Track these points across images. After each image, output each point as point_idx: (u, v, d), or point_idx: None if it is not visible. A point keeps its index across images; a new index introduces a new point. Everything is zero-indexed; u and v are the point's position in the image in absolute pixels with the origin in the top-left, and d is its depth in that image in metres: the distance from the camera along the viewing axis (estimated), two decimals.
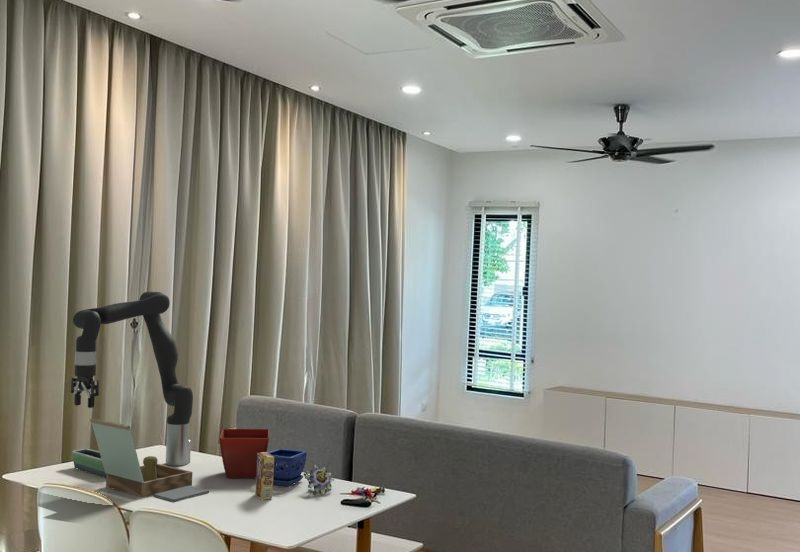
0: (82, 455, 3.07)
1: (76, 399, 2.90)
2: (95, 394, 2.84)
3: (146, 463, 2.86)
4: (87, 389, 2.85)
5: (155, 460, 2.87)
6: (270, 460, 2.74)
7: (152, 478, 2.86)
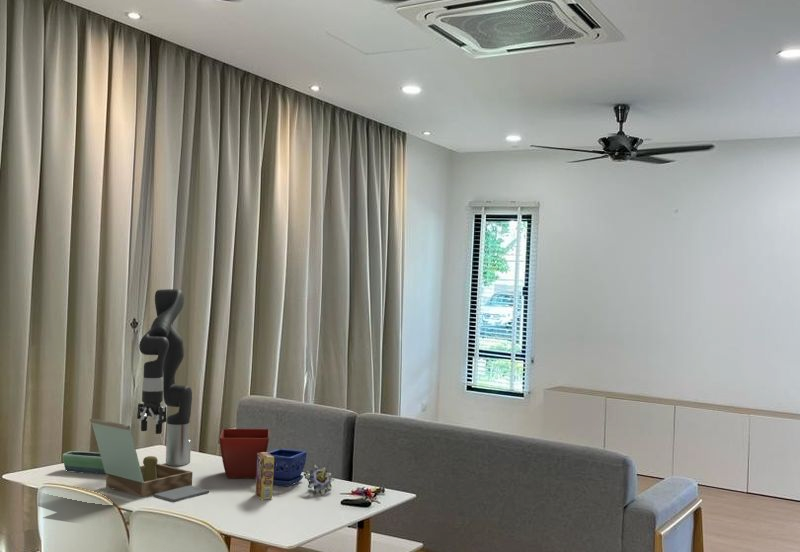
0: (81, 457, 3.04)
1: (143, 425, 2.90)
2: (163, 420, 2.84)
3: (146, 463, 2.86)
4: (155, 415, 2.86)
5: (155, 460, 2.87)
6: (270, 460, 2.74)
7: (152, 478, 2.86)
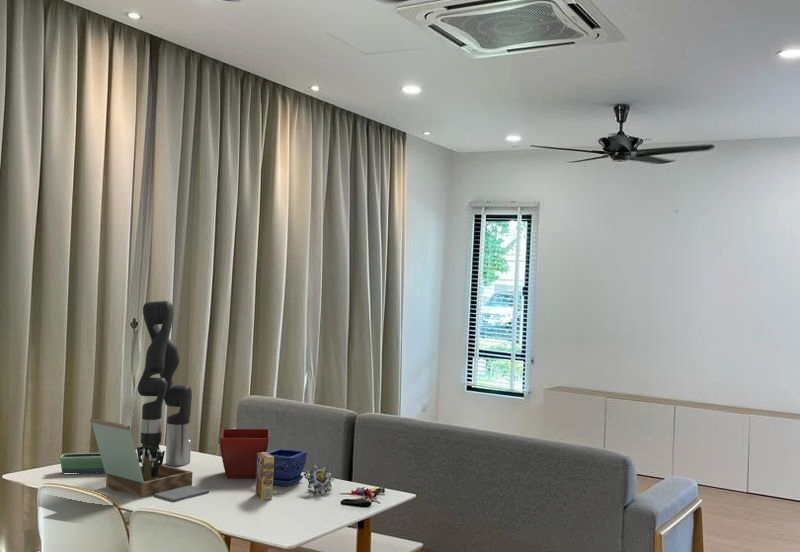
0: (82, 458, 3.02)
1: None
2: (159, 464, 2.85)
3: (146, 463, 2.86)
4: (152, 458, 2.86)
5: (155, 460, 2.87)
6: (270, 460, 2.74)
7: (152, 478, 2.86)
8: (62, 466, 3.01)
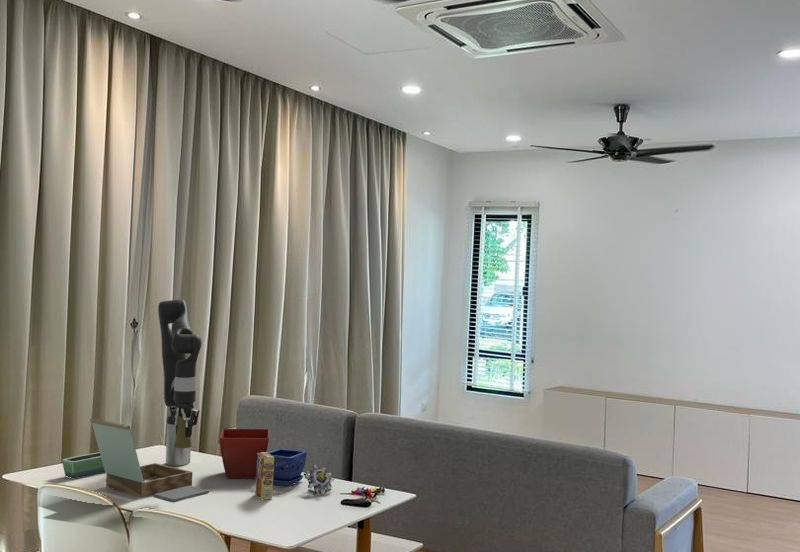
0: (92, 459, 3.01)
1: None
2: (193, 423, 2.75)
3: (180, 422, 2.76)
4: (186, 418, 2.76)
5: (189, 420, 2.77)
6: (270, 460, 2.74)
7: (186, 438, 2.76)
8: (74, 470, 2.95)
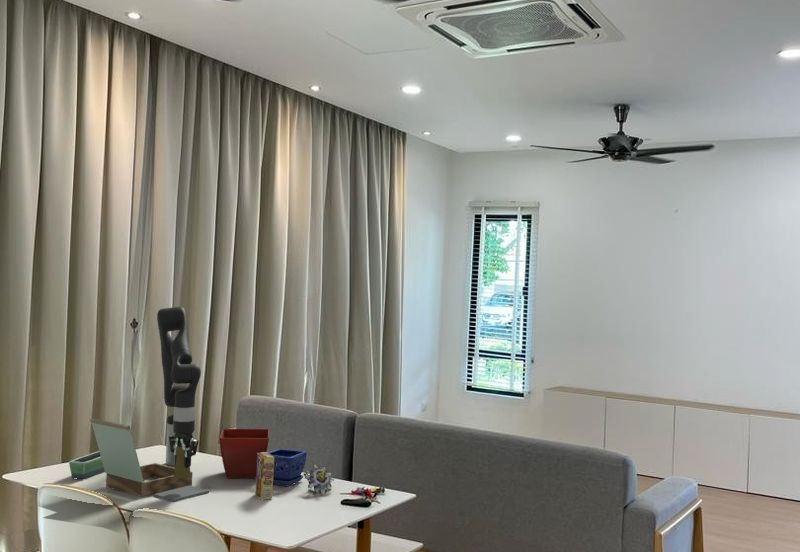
0: (98, 459, 3.01)
1: None
2: (192, 453, 2.75)
3: (179, 453, 2.75)
4: (185, 448, 2.75)
5: (188, 450, 2.77)
6: (270, 460, 2.74)
7: (185, 468, 2.76)
8: (85, 471, 2.94)
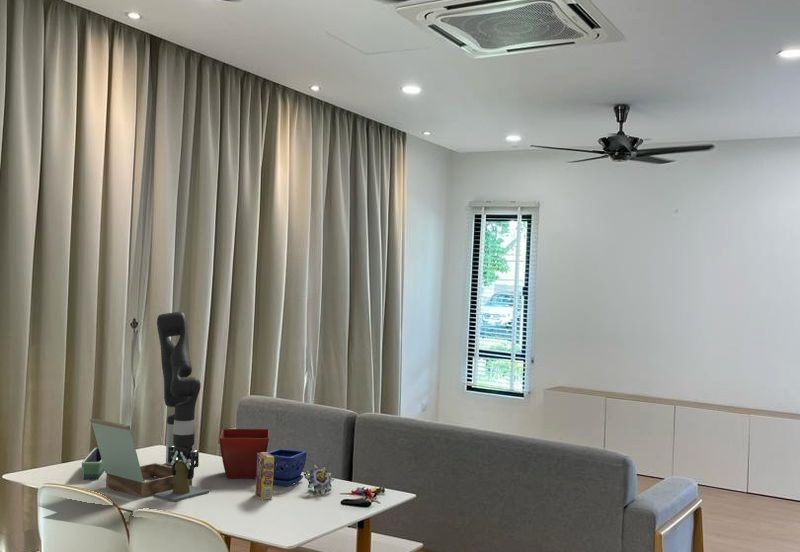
0: None
1: (174, 469, 2.79)
2: (195, 465, 2.74)
3: (178, 468, 2.75)
4: (187, 460, 2.75)
5: None
6: (270, 460, 2.74)
7: (184, 484, 2.76)
8: (99, 471, 2.95)
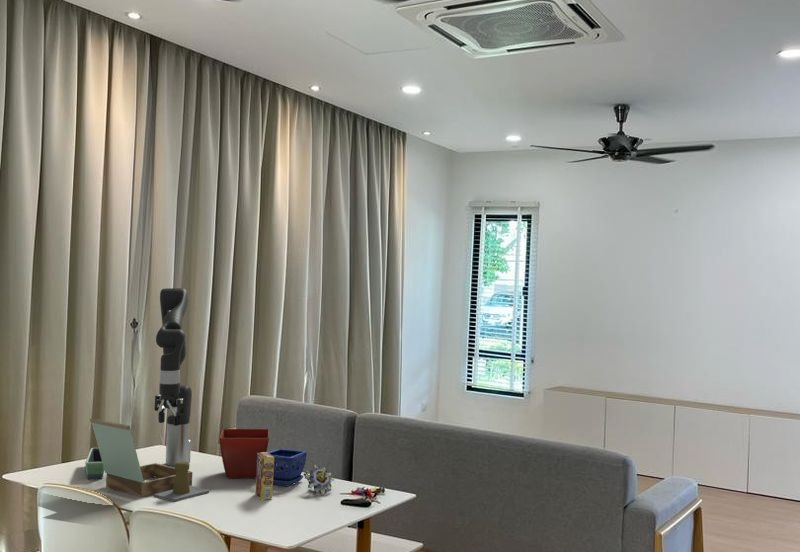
0: None
1: (160, 417, 2.93)
2: (181, 412, 2.87)
3: (178, 468, 2.75)
4: (173, 407, 2.88)
5: (187, 465, 2.77)
6: (270, 460, 2.74)
7: (184, 484, 2.76)
8: (103, 470, 2.96)
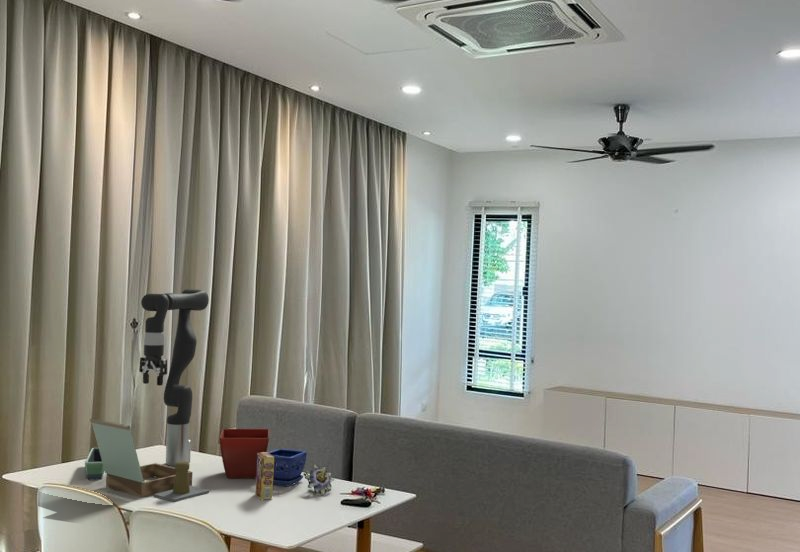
0: None
1: (145, 378, 3.06)
2: (164, 372, 3.00)
3: (178, 468, 2.75)
4: (156, 368, 3.01)
5: (187, 465, 2.77)
6: (270, 460, 2.74)
7: (184, 484, 2.76)
8: (103, 470, 2.96)
